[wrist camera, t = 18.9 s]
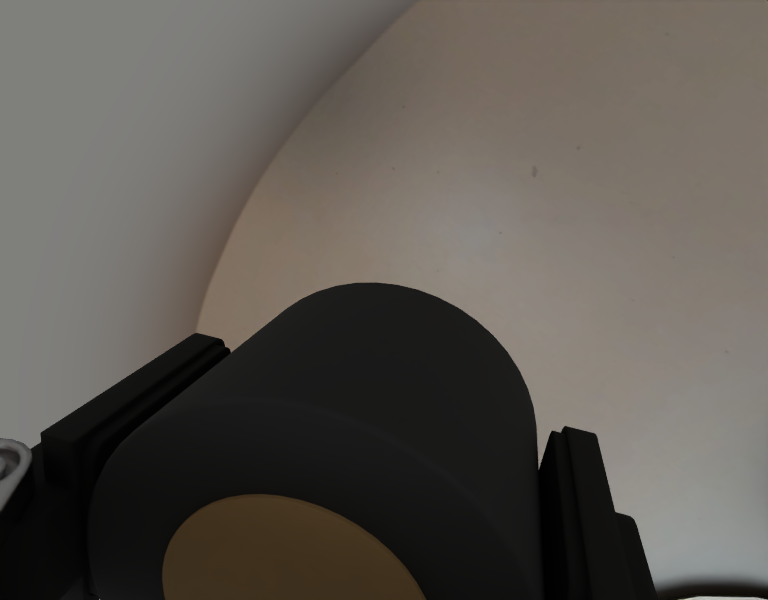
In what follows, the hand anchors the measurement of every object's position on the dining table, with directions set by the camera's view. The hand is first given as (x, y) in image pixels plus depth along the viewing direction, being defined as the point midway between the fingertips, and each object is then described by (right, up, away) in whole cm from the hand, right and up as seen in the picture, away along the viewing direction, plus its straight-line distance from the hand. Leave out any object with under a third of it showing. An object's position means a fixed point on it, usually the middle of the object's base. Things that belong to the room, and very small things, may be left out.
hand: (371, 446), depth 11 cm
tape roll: (0, 0, +1) cm, 1 cm away
